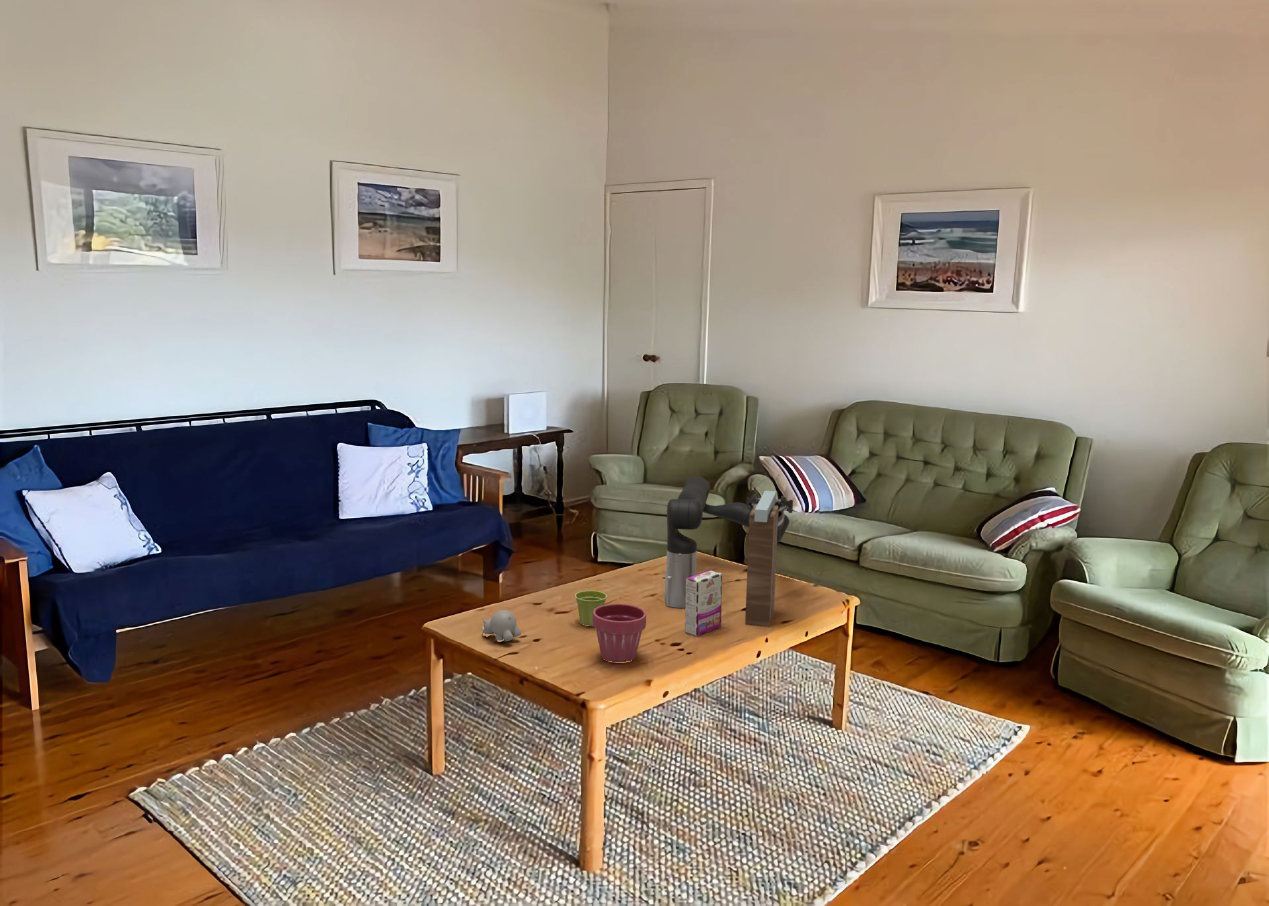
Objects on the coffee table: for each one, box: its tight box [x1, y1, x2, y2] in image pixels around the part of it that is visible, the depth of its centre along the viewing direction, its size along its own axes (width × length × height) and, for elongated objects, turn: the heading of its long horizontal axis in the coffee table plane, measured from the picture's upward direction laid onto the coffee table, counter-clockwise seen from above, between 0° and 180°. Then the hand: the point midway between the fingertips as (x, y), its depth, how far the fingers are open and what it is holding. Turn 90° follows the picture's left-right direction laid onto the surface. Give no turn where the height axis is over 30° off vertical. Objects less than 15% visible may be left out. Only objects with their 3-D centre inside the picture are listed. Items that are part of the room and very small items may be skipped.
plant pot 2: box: [592, 603, 647, 662], centre depth 254 cm, size 14×14×13 cm
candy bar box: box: [684, 570, 723, 637], centre depth 275 cm, size 11×5×16 cm, turn 136°
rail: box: [754, 490, 777, 522], centre depth 284 cm, size 26×4×4 cm, turn 166°
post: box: [744, 503, 778, 628], centre depth 284 cm, size 14×7×33 cm, turn 166°
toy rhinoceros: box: [481, 609, 522, 642], centre depth 266 cm, size 7×12×8 cm, turn 55°
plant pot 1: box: [574, 590, 608, 627], centre depth 279 cm, size 9×9×9 cm
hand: (768, 497), depth 291 cm, fingers open, 8 cm apart
